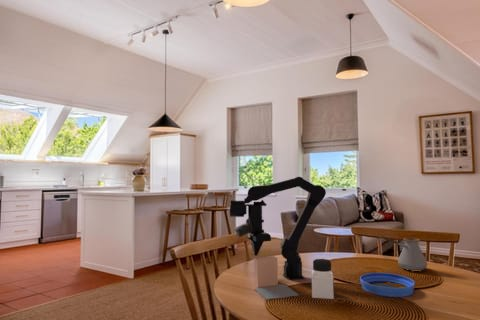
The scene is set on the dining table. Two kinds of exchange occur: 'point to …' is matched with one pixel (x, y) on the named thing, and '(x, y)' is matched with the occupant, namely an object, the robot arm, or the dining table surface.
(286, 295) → the mat
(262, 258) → the terracotta block
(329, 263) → the medicine bottle
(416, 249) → the coffee pot
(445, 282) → the dining table surface
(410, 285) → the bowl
